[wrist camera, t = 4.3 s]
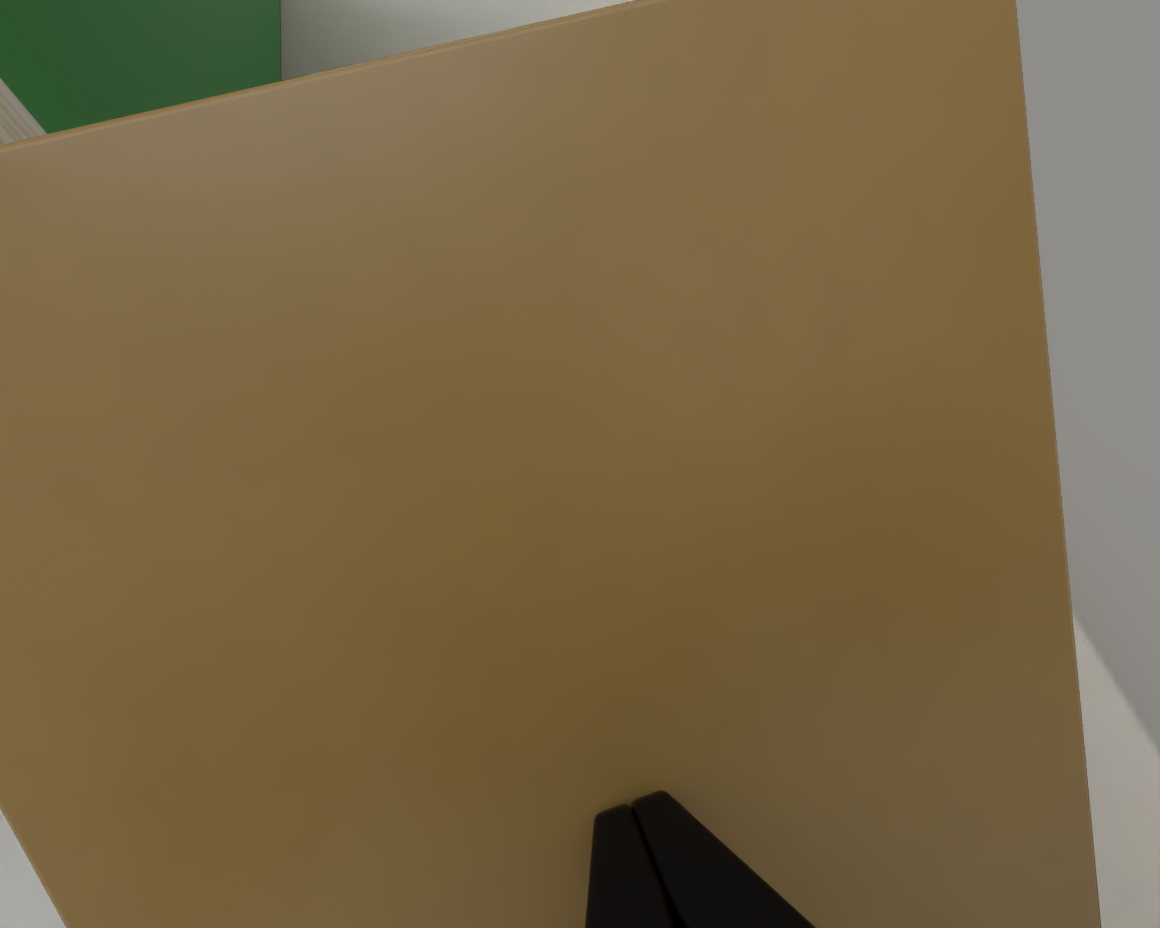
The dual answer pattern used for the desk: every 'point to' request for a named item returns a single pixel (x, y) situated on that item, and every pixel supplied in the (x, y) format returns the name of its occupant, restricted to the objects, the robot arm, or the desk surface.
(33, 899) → the desk surface
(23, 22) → the hardback book
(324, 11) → the desk surface
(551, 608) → the lid
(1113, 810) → the desk surface
